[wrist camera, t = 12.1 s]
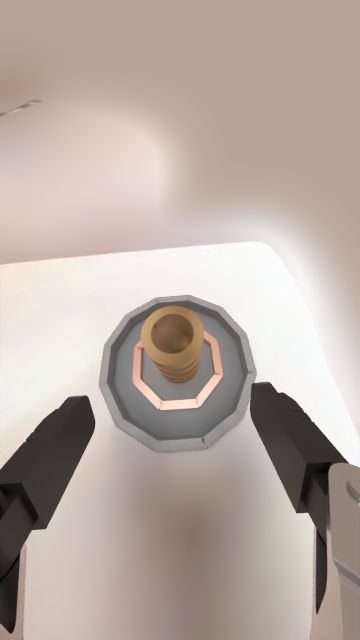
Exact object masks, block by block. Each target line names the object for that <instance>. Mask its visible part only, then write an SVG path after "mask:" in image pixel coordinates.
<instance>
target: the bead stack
mask: <svg viewBox="0 0 360 640" xmlns="http://www.w3.org/2000/svg"><path fill="white" fill-rule="evenodd" d="M203 339H204V329H203V325H202V323H201V321H200V319H199V318H198V316H197V315H196V314H195V313H193V312H192V311H190V310H189V309H187V308H184V307H180V306H167V307H163V308H160V309H158V310H156V311H155V312H153V313H152V314H151V315H150V316H149V317H148V318H147V319H146V321H145V323H144V324H143V327H142V330H141V342H142V345H143V348H144V350H145V351H146V353H147V354H148V356H149V357H150V358H151V360H152V361H153V362H154V364H155V365H156V366H157V368H158V369H159V370H160V372H161V373H162V375H163V376H164V377H165V378H166V379H167V380H168V381H170V382H172V383H185V382H187V381H189V380H190V379H192V378H193V376H194V375H195V374H196V371H197V368H198V363H199V359H200V354H201V349H202V344H203Z"/></svg>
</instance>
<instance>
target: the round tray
mask: <svg viewBox="0 0 360 640" xmlns="http://www.w3.org/2000/svg"><path fill="white" fill-rule="evenodd" d="M167 306H180V307H184V308H187V309H189V310H190V311H192V312H193V313H195V314H196V315H197V316H198V318H199V319H200V321H201V323H202V325H203V329H204V339H203V344H202V349H201V354H200V359H199V363H198V368H197V371H196V374H195V375H194V376H193V378H192V379H190V380H189V381H187V382H185V383H172V382H170V381H168V380H167V379H166V378H165V377H164V376H163V375H162V373H161V372H160V370H159V369H158V368H157V366H156V365H155V364H154V362H153V361H152V360H151V358H150V357H149V356H148V354H147V353H146V351H145V350H144V348H143V345H142V342H141V330H142V327H143V324H144V323H145V321H146V319H147V318H148V317H149V316H150V315H151V314H152V313H153V312H155V311H156V310H158V309H160V308H163V307H167ZM256 373H257V372H256V368H255V364H254V360H253V356H252V352H251V349H250V345H249V341H248V337H247V334H246V333H245V332H244V330H243V329H242V328H241V327H240V326H239V325H238V324H237V323H236V322H235V321H234V320H233V319H232V318H231V316H230V315H229V314H228V313H227V312H226V311H225V310H224V309H223V308H221V307H220V306H218V305H215V304H212V303H210V302H207V301H204V300H202V299H199V298H196V297H194V296H191V295H190V296H189V295H182V296H170V297H157V298H154V299H153V300H151V301H149V302H147V303H145V304H144V305H142V306H140V307H138V308H137V309H135V310H133V311H131V312H129V313H128V314H126V315H125V316H124V318H123V319H122V321H121V322H120V323H119V325H118V326H117V328H116V329H115V330H114V332H113V333H112V335H111V336H110V337H109V339H108V340H107V342H106V343H105V344H104V350H103V357H102V364H101V371H100V378H99V387H100V390H101V392H102V395H103V397H104V399H105V402H106V404H107V407H108V409H109V411H110V414H111V416H112V419H113V421H114V423H115V426H116V427H118V428H119V429H121V430H122V431H124V432H125V433H127V434H128V435H130V436H131V437H133V438H135V439H136V440H138V441H139V442H141V443H142V444H144V445H145V446H147V447H149V448H150V449H152V450H153V451H155V452H156V451H157V452H170V451H184V450H199V449H207V448H208V447H209V446H210V445H212V444H213V443H214V442H215V441H216V440H217V439H219V438H220V437H221V436H222V435H223V434H225V433H226V432H227V431H228V430H229V429H231V428H232V427H233V426H234V425H235V424H237V423H238V422H239V421H240V420H241V419H243V417H244V415H245V412H246V409H247V405H248V402H249V399H250V395H251V385H252V383H254V382H255V378H256V375H257V374H256ZM205 447H206V448H205Z"/></svg>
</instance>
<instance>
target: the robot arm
mask: <svg viewBox="0 0 360 640" xmlns="http://www.w3.org/2000/svg"><path fill="white" fill-rule="evenodd" d="M250 413H251V417H252V421H253V423H254V425H255V427H256V429H257V432H258V434H259V436H260V438H261V440H262V442H263V444H264V446H265V448H266V450H267V453H268V455H269V457H270V459H271V461H272V463H273V465H274V467H275V469H276V471H277V474H278V476H279V478H280V480H281V482H282V484H283V486H284V488H285V490H286V492H287V494H288V497H289V499H290V501H291V503H292V505H293V507H294V509H295V511H296V513H309V515H310V517H311V519H312V521H313V523H314V525H315V526H314V551H313V606H312V625H311V633H310V640H360V468H359V467H357V466H354V465H351V464H349V463H348V462H347V461H346V460H345V458H344V457H343V456H342V455H341V454H340V453H339V451H338V450H337V449H336V448H335V447H334V446H333V444H332V443H331V442H330V441H329V440H328V439H327V437H326V436H325V435H324V434H323V433H322V432H321V430H320V429H319V428H318V427H317V426H316V425H315V423H314V422H312V421H311V419H310V418H309V416H308V415H307V414H306V413H304V411H303V409H302V408H301V407H300V406H299V405H298V404H297V402H296V401H295V400H293V399H292V398H291V397H289V396H288V395H286V394H285V393H278V392H277V391H276V389H275V388H274V387H273V386H272V384H271V383H270V382H260V383H252V385H251V400H250ZM94 429H95V418H94V415H93V411H92V408H91V404H90V401H89V398H88V396H86V395H84V396H71V397H68V398H67V399H66V400H65V402H64V403H63V404H62V405H61V406H60V408H59V409H56V410H55V411H53V412H52V413H51V414H49V415H48V416H47V417H46V418H44V419H43V420H42V422H41V423H40V424H39V425H38V426H37V427H36V429H35V430H34V432H32V433H31V434H30V436H29V437H28V438H27V439H26V442H24V443H23V444H22V445H21V446H20V447H19V448H18V450H17V451H16V452H15V453H14V454H13V455H12V457H11V458H10V459H9V460H8V461H7V462H6V464H5V465H4V466H3V467H2V468H1V469H0V640H24V635H23V622H24V598H25V574H26V544H25V541H26V540H27V538H28V536H29V534H30V532H31V530H39V529H46V528H47V526H48V524H49V522H50V520H51V518H52V516H53V514H54V512H55V510H56V508H57V506H58V504H59V502H60V500H61V498H62V496H63V494H64V492H65V490H66V488H67V485H68V483H69V481H70V479H71V477H72V475H73V473H74V471H75V469H76V467H77V465H78V463H79V461H80V459H81V457H82V455H83V453H84V451H85V449H86V447H87V445H88V443H89V441H90V439H91V437H92V435H93V432H94Z"/></svg>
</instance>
